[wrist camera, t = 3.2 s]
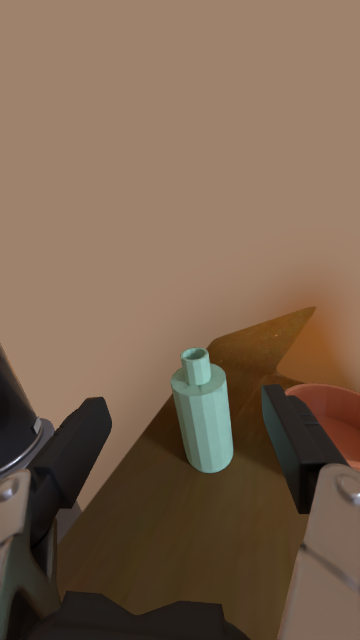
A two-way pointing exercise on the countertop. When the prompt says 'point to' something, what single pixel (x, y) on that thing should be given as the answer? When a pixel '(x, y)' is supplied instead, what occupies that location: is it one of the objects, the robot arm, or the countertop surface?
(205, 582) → the countertop surface
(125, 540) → the countertop surface
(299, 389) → the terracotta bowl
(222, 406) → the bottle
